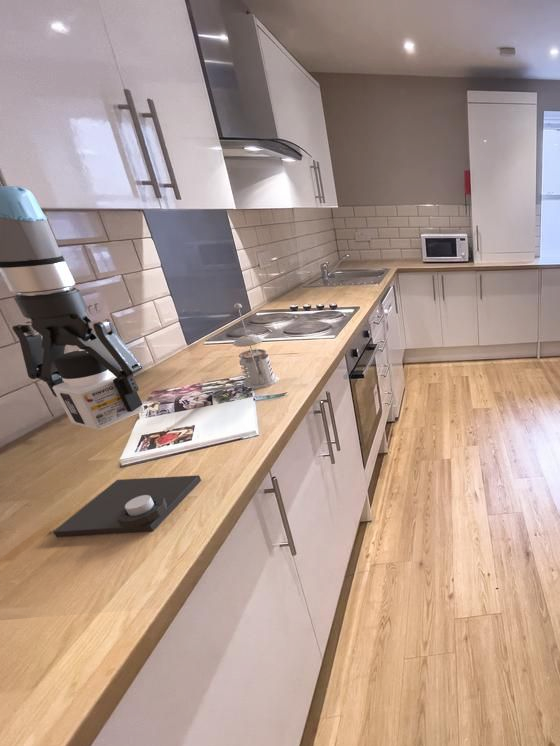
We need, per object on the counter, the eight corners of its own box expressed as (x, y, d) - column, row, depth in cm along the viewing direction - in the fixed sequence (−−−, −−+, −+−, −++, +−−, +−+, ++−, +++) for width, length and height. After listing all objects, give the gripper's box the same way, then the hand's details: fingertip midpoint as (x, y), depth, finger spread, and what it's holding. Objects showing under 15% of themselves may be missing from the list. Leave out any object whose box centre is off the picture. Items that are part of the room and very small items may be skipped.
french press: (274, 373, 134) (252, 297, 123) (283, 384, 126) (261, 304, 115) (240, 381, 128) (214, 303, 117) (247, 394, 120) (220, 311, 109)
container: (99, 430, 73) (64, 363, 67) (71, 424, 75) (35, 358, 69) (146, 410, 79) (117, 347, 74) (119, 404, 82) (89, 343, 76)
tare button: (123, 517, 72) (119, 509, 71) (138, 503, 75) (134, 495, 74) (145, 515, 72) (141, 508, 71) (159, 501, 75) (155, 494, 74)
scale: (55, 538, 71) (46, 525, 69) (120, 485, 84) (113, 473, 82) (153, 532, 72) (146, 519, 70) (202, 480, 85) (197, 468, 83)
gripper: (135, 283, 71) (181, 397, 81) (-5, 287, 69) (59, 402, 79) (100, 293, 64) (155, 416, 74) (-56, 297, 63) (21, 422, 72)
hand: (105, 409), depth 76 cm, fingers closed on container, 10 cm apart
